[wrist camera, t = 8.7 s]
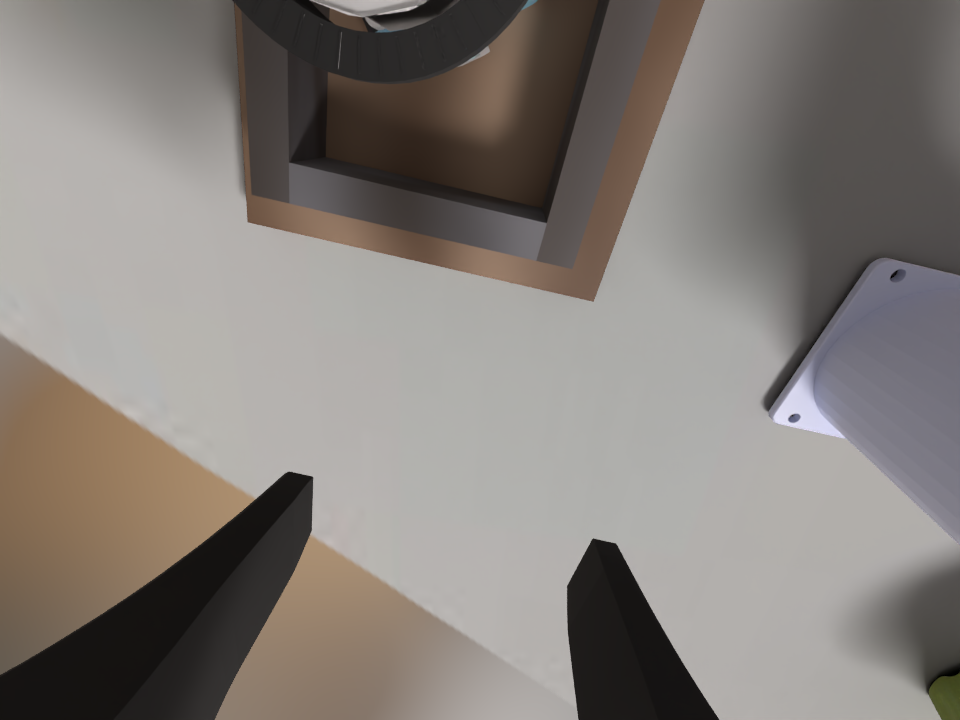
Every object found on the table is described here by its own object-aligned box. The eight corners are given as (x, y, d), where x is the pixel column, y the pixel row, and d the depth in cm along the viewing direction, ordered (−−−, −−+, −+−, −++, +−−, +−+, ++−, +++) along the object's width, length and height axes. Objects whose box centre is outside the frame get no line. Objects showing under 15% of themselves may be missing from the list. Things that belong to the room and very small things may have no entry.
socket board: (808, -320, 10) (960, -554, 7) (588, 291, 18) (606, 330, 14) (233, -487, 10) (74, -833, 6) (264, 216, 17) (200, 238, 14)
